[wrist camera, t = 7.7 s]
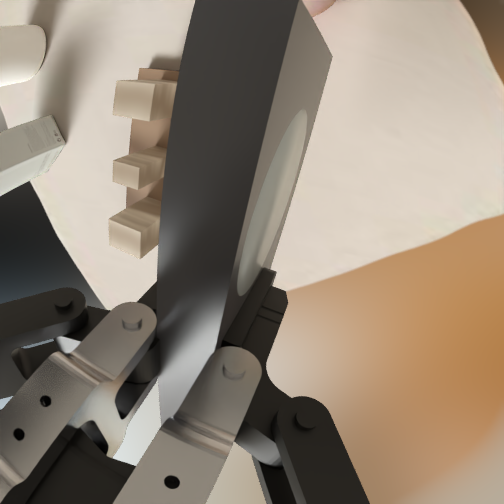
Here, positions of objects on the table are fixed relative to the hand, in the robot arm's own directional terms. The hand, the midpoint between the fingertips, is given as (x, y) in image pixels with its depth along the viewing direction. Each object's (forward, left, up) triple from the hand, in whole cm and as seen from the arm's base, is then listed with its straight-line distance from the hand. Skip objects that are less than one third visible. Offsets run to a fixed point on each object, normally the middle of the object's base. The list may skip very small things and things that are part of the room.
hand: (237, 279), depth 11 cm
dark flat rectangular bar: (0, 0, -2) cm, 2 cm away
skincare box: (+6, -37, -19) cm, 42 cm away
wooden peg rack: (+3, -14, -19) cm, 24 cm away
